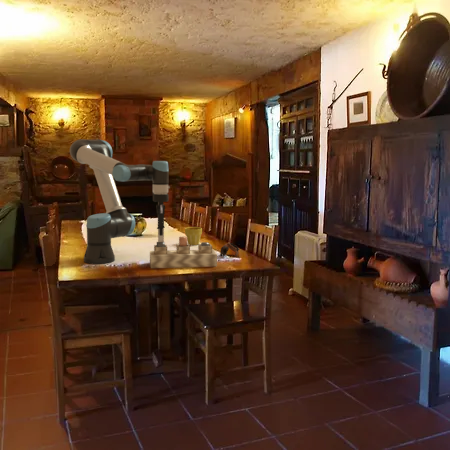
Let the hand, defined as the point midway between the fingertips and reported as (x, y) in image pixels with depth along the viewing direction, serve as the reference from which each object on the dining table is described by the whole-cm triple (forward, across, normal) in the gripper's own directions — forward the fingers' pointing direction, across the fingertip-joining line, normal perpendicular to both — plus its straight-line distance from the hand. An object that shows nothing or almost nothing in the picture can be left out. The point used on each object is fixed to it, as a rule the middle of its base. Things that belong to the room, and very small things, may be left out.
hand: (160, 241), depth 242 cm
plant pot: (+12, +53, -23) cm, 59 cm away
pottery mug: (+12, +18, -37) cm, 43 cm away
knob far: (+6, 0, -22) cm, 23 cm away
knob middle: (+2, 0, -11) cm, 11 cm away
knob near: (+5, 0, 0) cm, 5 cm away
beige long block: (+12, 0, -11) cm, 16 cm away
